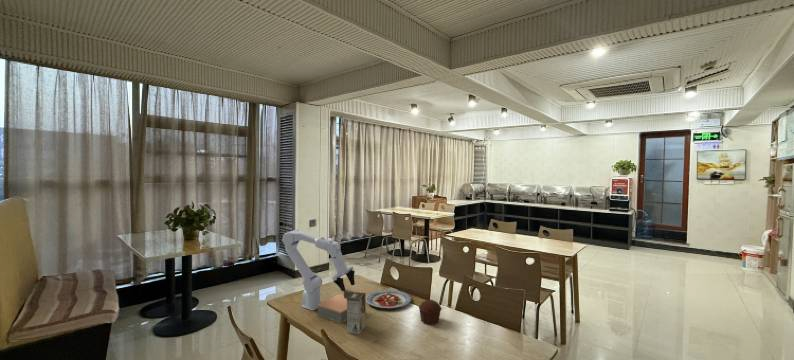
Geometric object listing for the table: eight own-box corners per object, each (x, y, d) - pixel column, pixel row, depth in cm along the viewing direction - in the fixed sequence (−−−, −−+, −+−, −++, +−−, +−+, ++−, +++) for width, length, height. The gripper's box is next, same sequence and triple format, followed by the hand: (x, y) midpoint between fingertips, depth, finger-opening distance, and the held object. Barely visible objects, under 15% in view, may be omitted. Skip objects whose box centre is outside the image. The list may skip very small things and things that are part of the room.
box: (318, 315, 172) (318, 305, 172) (339, 304, 186) (339, 295, 185) (341, 323, 164) (341, 313, 163) (361, 311, 177) (361, 302, 177)
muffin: (417, 316, 172) (417, 297, 172) (438, 315, 173) (438, 296, 173) (421, 327, 160) (421, 306, 160) (443, 326, 161) (443, 305, 161)
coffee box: (353, 323, 163) (353, 291, 163) (365, 325, 162) (366, 292, 161) (346, 333, 154) (346, 298, 154) (360, 334, 153) (360, 300, 152)
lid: (317, 305, 172) (317, 296, 172) (339, 295, 186) (339, 286, 186) (341, 313, 163) (341, 303, 163) (362, 302, 177) (362, 293, 177)
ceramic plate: (356, 301, 191) (356, 296, 191) (390, 290, 209) (390, 285, 209) (385, 316, 172) (385, 310, 172) (420, 302, 190) (420, 297, 190)
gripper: (335, 267, 170) (344, 292, 169) (353, 257, 182) (362, 281, 181) (326, 270, 174) (335, 294, 173) (344, 260, 186) (353, 283, 185)
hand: (348, 287), depth 177 cm, fingers open, 7 cm apart
